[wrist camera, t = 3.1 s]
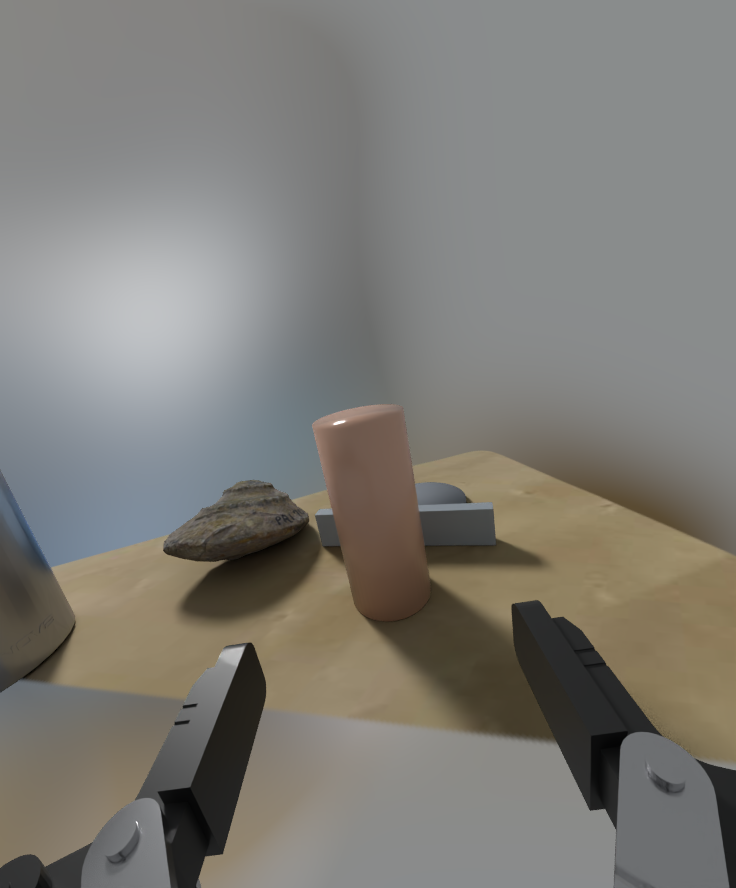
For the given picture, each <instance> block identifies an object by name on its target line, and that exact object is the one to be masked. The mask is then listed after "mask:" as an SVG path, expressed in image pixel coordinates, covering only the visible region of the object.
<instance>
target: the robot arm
mask: <svg viewBox="0 0 736 888" xmlns="http://www.w3.org/2000/svg"><path fill="white" fill-rule="evenodd" d="M74 623H75V615H74V613H73V611H72V609H71V607H70V605H69V603H68V601H67V599H66V597H65V595H64V593H63V591H62V589H61V587H60V585H59V583H58V581H57V579H56V578H55V576H54V574H53V571H52V569H51V567H50V565H49V563H48V561H47V559H46V557H45V556H44V554H43V552H42V550H41V548H40V546H39V544H38V542H37V540H36V538H35V536H34V534H33V532H32V530H31V528H30V526H29V525H28V523H27V521H26V519H25V517H24V515H23V513H22V511H21V509H20V507H19V505H18V503H17V501H16V499H15V498H14V496H13V494H12V492H11V490H10V488H9V486H8V484H7V482H6V480H5V478H4V476H3V474H2V473H1V471H0V692H2V691H3V690H5V689H6V688H8V687H9V686H11V685H12V684H14V683H16V682H17V681H18V680H20V679H21V678H22V677H24V676H25V675H26V674H28V673H29V672H30V671H32V670H33V669H34V668H36V667H37V666H38V665H39V664H40V663H41V662H43V661H44V660H45V659H46V658H47V657H48V656H49V655H51V654H52V653H53V652H54V651H55V650H56V648H57V647H58V646H59V645H60V644H61V643H62V642H63V641H64V640H65V638H66V637H67V636H68V634H69V633H70V632H71V630H72V627H73V625H74ZM512 623H513V638H514V647H515V651H516V655H517V658H518V661H519V664H520V666H521V668H522V670H523V672H524V675H525V677H526V679H527V681H528V683H529V685H530V687H531V689H532V691H533V693H534V695H535V697H536V699H537V702H538V704H539V706H540V708H541V710H542V712H543V714H544V716H545V718H546V720H547V722H548V724H549V727H550V729H551V731H552V733H553V735H554V737H555V739H556V741H557V743H558V745H559V747H560V749H561V751H562V754H563V756H564V758H565V760H566V762H567V764H568V766H569V768H570V770H571V772H572V774H573V776H574V778H575V780H576V782H577V784H578V787H579V789H580V791H581V793H582V795H583V797H584V799H585V801H586V803H587V805H588V807H589V810H590V811H591V810H599V809H606V811H607V813H608V815H609V817H610V819H611V821H612V823H613V825H614V827H615V829H616V849H615V871H614V888H736V770H731V769H726V768H722V767H717V766H714V765H710V764H707V763H704V762H702V761H699V760H697V759H695V758H693V757H692V756H691V755H690V754H689V753H688V752H687V751H686V750H684V749H683V748H682V747H680V746H679V745H677V744H676V743H674V742H672V741H671V740H669V739H667V738H665V737H663V736H662V735H661V734H660V733H659V732H658V731H657V730H656V729H655V727H654V726H653V725H652V724H651V722H650V721H649V720H648V718H647V717H646V716H645V714H644V713H643V712H642V710H641V709H640V708H639V706H638V705H637V704H636V702H635V701H634V700H633V698H632V697H631V696H630V694H629V693H628V692H627V690H626V689H625V688H624V686H623V685H622V684H621V682H620V681H619V680H618V678H617V677H616V676H615V674H614V673H613V672H612V670H611V669H610V668H609V667H608V666H606V663H605V661H604V660H603V659H602V657H601V656H600V655H599V653H598V652H597V651H595V649H594V647H593V645H592V644H591V643H590V641H589V640H588V639H587V637H586V636H585V635H584V633H583V632H582V631H581V630H580V629H579V628H578V627H576V626H575V625H573V624H572V623H571V622H569V621H568V620H567V619H565V618H564V617H558V618H551V617H550V615H549V614H548V612H547V611H546V609H545V608H544V606H543V605H542V604H541V602H540V601H538V600H535V601H528V602H522V603H515V604H512ZM265 698H266V681H265V677H264V674H263V671H262V668H261V665H260V662H259V659H258V657H257V654H256V651H255V648H254V645H253V644H252V643H243V644H236V645H230V646H226V647H225V648H224V649H223V650H222V652H221V654H220V657H219V659H218V661H217V663H216V665H215V667H213V668H207V670H206V671H205V672H204V673H203V674H202V675H201V677H200V678H199V679H198V680H197V681H196V682H195V684H194V685H193V686H192V688H191V690H190V692H189V694H188V696H187V698H186V700H185V702H184V704H183V709H181V710H180V712H179V714H178V716H177V718H176V720H175V725H174V726H173V727H172V728H171V730H170V732H169V734H168V736H167V738H166V740H165V742H164V744H163V746H162V748H161V750H160V752H159V754H158V756H157V758H156V760H155V762H154V764H153V766H152V768H151V770H150V772H149V774H148V776H147V778H146V780H145V782H144V784H143V786H142V788H141V790H140V792H139V794H138V796H137V797H136V799H135V801H133V802H132V803H130V804H128V805H126V806H125V807H124V808H122V809H121V810H120V811H118V812H117V813H116V814H115V815H114V816H113V817H112V818H111V819H110V820H109V821H108V822H107V823H106V824H105V826H104V827H103V828H102V829H101V831H100V832H99V833H98V835H97V837H96V838H95V840H94V841H93V842H92V843H90V844H89V845H87V846H85V847H83V848H81V849H79V850H77V851H75V852H74V853H71V854H69V855H68V856H66V857H64V858H62V859H60V860H58V861H56V862H54V863H52V864H50V865H48V866H46V867H45V866H44V865H43V864H42V862H41V861H40V860H39V858H38V857H36V856H35V855H31V854H30V855H23V856H20V857H18V858H16V859H14V860H12V861H10V862H8V863H7V864H5V865H4V866H2V867H1V868H0V888H201V884H200V881H199V879H198V878H199V875H200V871H201V868H202V865H203V861H204V858H205V856H212V855H220V854H223V851H224V848H225V844H226V840H227V837H228V833H229V830H230V826H231V822H232V819H233V815H234V812H235V808H236V804H237V801H238V797H239V793H240V790H241V786H242V782H243V779H244V775H245V772H246V768H247V764H248V761H249V757H250V754H251V750H252V746H253V743H254V739H255V735H256V732H257V729H258V724H259V721H260V718H261V714H262V711H263V707H264V703H265Z"/></svg>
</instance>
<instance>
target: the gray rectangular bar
mask: <svg viewBox="0 0 736 888" xmlns="http://www.w3.org/2000/svg"><path fill="white" fill-rule="evenodd" d="M418 506H419V513H420V519H421V526H422V532H423V538H424V545H425V546H428V545H496V537H495V524H494V512H493V505H492V502H487V503H462V504H437V505H418ZM315 517H316V521H317V525H318V529H319V533H320V537H321V541H322V545H323V546H341V545H340V541H339V537H338V533H337V528H336V524H335V520H334V516H333V512H332V509H319V511H318V512H317V513H316V514H315Z"/></svg>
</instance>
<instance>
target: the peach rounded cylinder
mask: <svg viewBox="0 0 736 888" xmlns="http://www.w3.org/2000/svg"><path fill="white" fill-rule="evenodd" d="M312 427H313V431H314V435H315V439H316V444H317V448H318V452H319V456H320V461H321V465H322V469H323V473H324V477H325V482H326V486H327V490H328V495H329V499H330V503H331V507H332V512H333V516H334V520H335V524H336V528H337V533H338V537H339V541H340V545H341V550H342V554H343V558H344V562H345V567H346V571H347V575H348V579H349V583H350V588H351V592H352V596H353V600H354V604H355V606H356V608H357V609H358V611H359V612H360V613H361V614H363V615H364V616H366V617H368V618H370V619H373V620H377V621H397V620H401V619H404V618H407V617H409V616H412V615H413V614H415V613H417V612H418V611H419V610H421V609H422V608H423V607H424V605H425V604H426V603H427V601H428V600H429V597H430V594H431V583H430V577H429V571H428V564H427V558H426V551H425V545H424V538H423V532H422V526H421V519H420V513H419V506H418V500H417V493H416V487H415V481H414V474H413V468H412V461H411V455H410V449H409V442H408V436H407V429H406V424H405V416H404V411H403V407H402V406H400V405H394V404H382V405H381V404H380V405H370V406H363V407H357V408H353V409H348V410H344V411H340V412H337V413H333V414H330V415H327V416H325V417H322V418H320V419H319V420H317V421H315V422H314V423H313V424H312Z"/></svg>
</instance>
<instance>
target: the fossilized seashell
mask: <svg viewBox="0 0 736 888" xmlns="http://www.w3.org/2000/svg"><path fill="white" fill-rule="evenodd" d="M308 522H309V517H308V513H306V512H305V511H303V510H302V509H301V508H299V507H297V506H296V504H295V503H293V502H292V500H291V499H290V498H289V496H288V494H286V493H283V492H280V491H278V490H276V489H275V488H274V487H273V485H272V484H271V483H266V482H261V481H257V480H250V481H242V482H238V483H236V484H235V485H234V486H233V487H231V488H229V489H227V490H224V492H223V495H222V497H221V498H220V499H219V501H217V503H216V504H214V505H212V506H210V507H207V508H202V509H201V511H200V512H199V513H198V514H197V515H196V516H195V517H194V518H192V519H191V520H189V521H187V522H186V523H185V524H184V525H182V526H181V527H180V528H178V529H177V530H176V531H174V532H173V533H172V534H170V535H169V537H168V539H167V540H166V541H164V549H163V551H164V552H165V553H166V554H168V555H171V556H174V557H178V558H182V559H188V560H194V561H209V562H216V561H219V560H225V559H227V560H235V559H238V558H241V557H242V556H244V555H247V554H250V553H253V552H257V551H260V550H262V549H264V548H266V547H268V546H271V545H274V544H277V543H279V542H281V541H282V540H284V539H287V538H289V537H291V536H293V535H295V534H296V533H297V532H299V531H300V530H301V529H302V528H303V527H304V526H305V525H306V524H307V523H308Z"/></svg>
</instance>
